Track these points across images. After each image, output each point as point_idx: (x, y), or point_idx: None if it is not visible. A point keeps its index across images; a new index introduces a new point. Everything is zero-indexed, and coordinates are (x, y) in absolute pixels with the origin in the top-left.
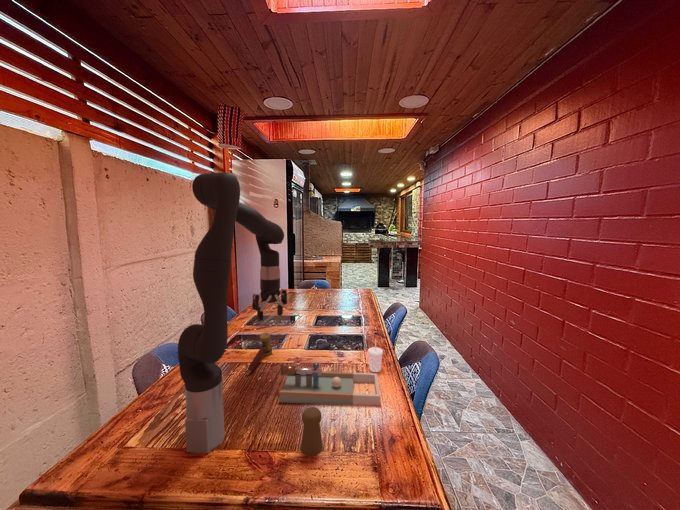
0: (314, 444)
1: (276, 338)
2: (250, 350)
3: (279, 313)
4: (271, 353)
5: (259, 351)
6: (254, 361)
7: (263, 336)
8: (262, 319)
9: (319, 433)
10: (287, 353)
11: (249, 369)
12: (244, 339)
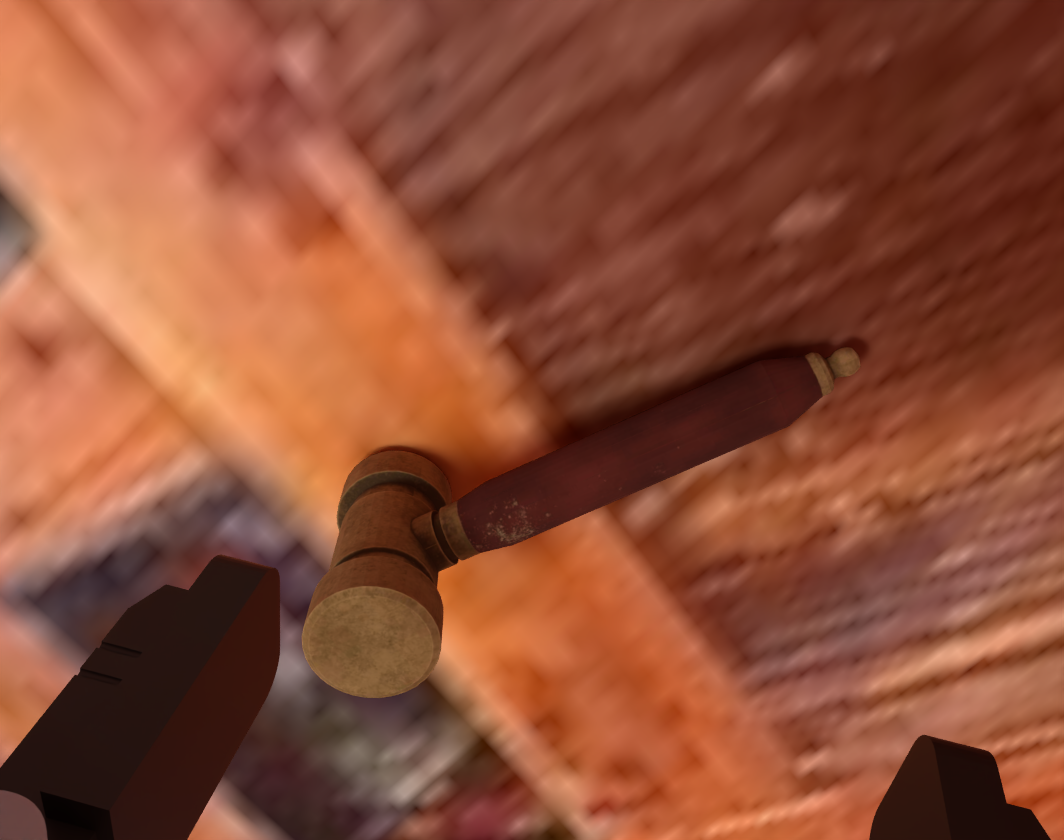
0: None
1: None
2: (457, 659)
3: (243, 649)
4: (380, 455)
5: (543, 518)
6: (696, 436)
7: (398, 643)
8: (964, 760)
9: None
10: (241, 333)
11: (812, 387)
12: (360, 814)
